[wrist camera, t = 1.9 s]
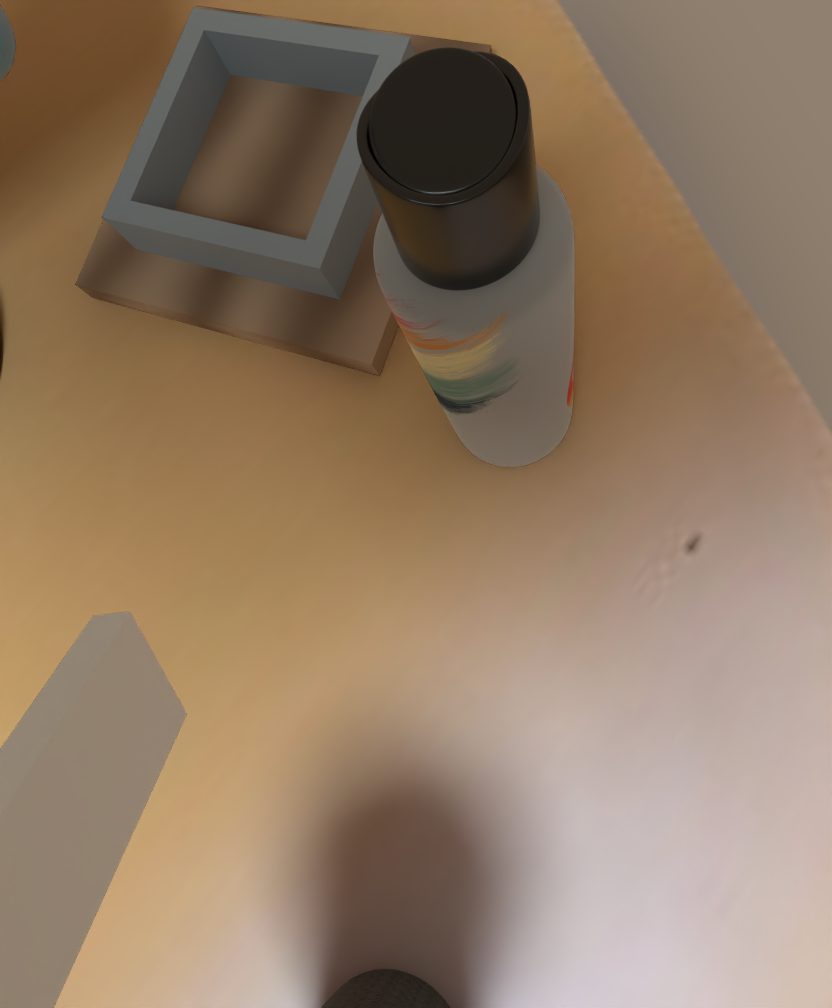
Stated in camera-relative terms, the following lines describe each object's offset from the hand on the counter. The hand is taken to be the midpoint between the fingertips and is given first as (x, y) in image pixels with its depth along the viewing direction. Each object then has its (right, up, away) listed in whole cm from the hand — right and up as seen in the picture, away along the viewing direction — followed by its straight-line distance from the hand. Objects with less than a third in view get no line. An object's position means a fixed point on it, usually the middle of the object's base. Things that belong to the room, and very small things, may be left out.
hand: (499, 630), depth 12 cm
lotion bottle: (+3, +7, +22) cm, 23 cm away
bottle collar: (-9, +20, +26) cm, 34 cm away
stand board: (-9, +20, +27) cm, 35 cm away
